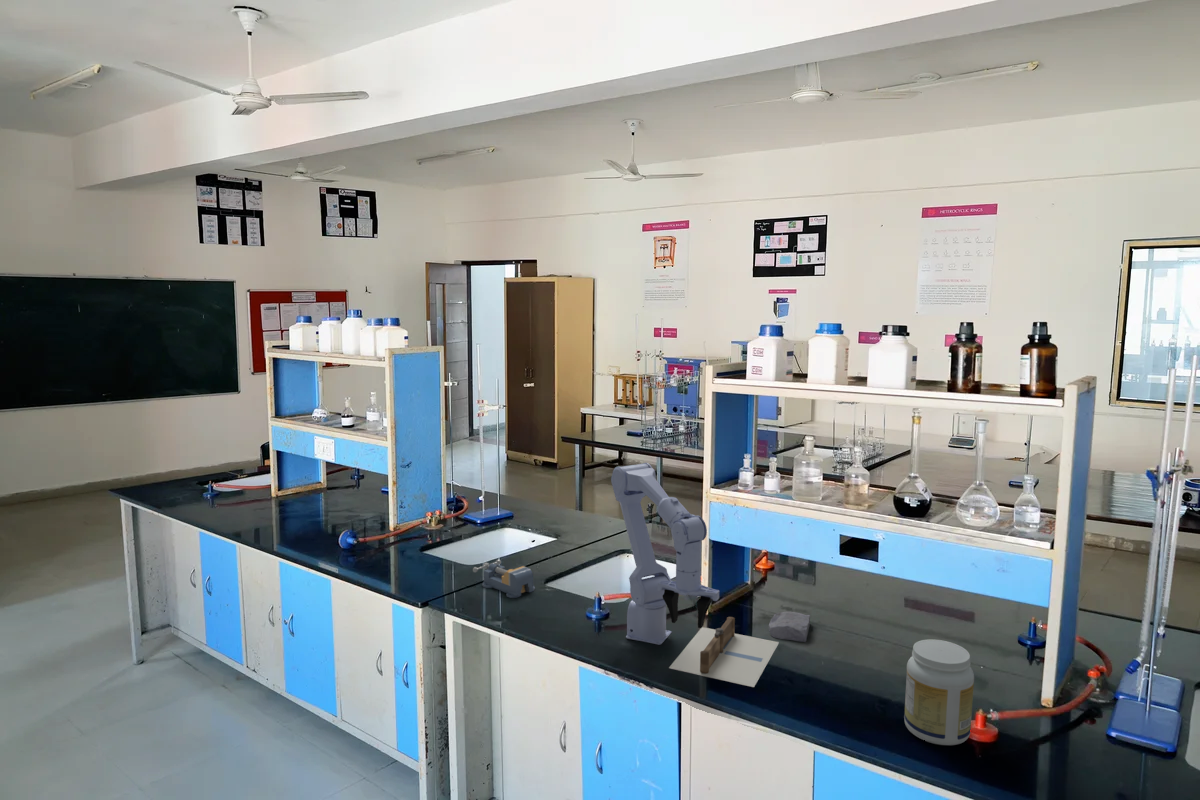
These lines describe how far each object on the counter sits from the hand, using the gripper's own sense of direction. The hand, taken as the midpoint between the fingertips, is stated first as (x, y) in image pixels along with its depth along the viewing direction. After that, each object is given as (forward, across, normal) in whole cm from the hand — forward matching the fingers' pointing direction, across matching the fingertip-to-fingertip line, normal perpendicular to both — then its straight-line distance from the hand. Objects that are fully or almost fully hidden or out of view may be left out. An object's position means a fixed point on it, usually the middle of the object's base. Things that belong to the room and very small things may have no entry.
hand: (687, 623), depth 182 cm
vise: (+10, -64, +21) cm, 68 cm away
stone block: (+10, +18, +27) cm, 34 cm away
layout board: (+9, +8, +6) cm, 14 cm away
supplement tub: (+10, +54, -6) cm, 56 cm away
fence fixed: (+9, +5, +12) cm, 16 cm away
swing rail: (+9, +5, +2) cm, 11 cm away
